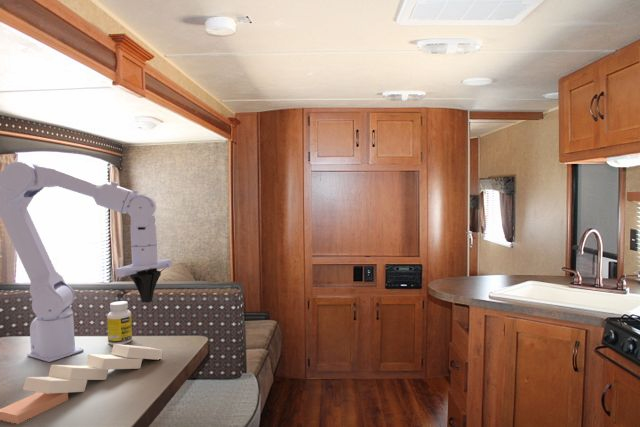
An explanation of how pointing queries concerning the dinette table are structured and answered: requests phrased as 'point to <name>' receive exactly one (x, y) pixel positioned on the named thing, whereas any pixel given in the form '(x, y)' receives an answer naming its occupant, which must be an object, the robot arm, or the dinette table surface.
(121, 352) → the domino
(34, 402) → the terracotta domino
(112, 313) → the supplement bottle
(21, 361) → the dinette table surface
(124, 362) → the domino
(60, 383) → the domino
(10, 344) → the dinette table surface
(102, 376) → the domino
